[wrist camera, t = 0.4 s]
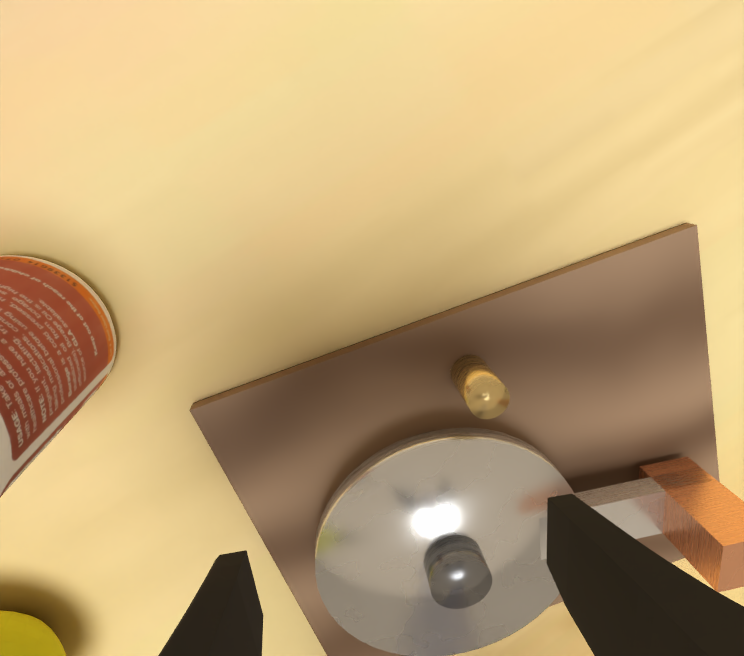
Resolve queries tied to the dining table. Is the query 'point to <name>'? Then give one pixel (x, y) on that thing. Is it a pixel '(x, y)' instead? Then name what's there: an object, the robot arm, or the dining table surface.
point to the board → (449, 410)
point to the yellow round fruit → (27, 636)
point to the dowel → (479, 387)
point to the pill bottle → (46, 356)
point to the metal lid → (489, 537)
